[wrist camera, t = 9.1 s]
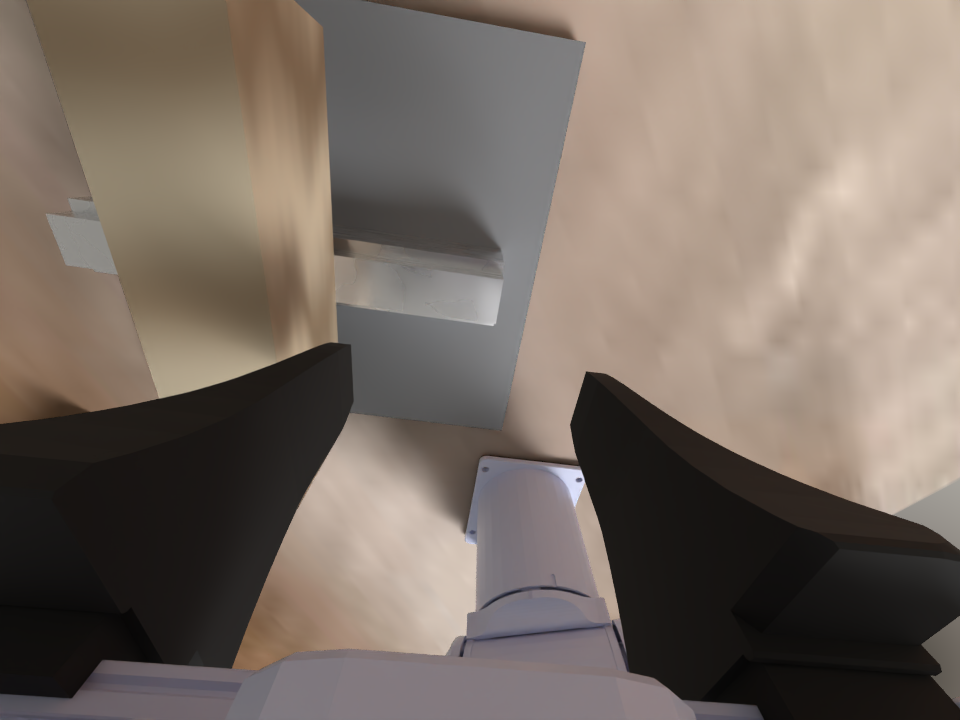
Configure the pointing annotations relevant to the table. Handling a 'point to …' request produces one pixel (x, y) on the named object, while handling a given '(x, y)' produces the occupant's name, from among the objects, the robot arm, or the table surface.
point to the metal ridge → (350, 268)
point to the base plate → (442, 186)
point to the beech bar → (204, 173)
